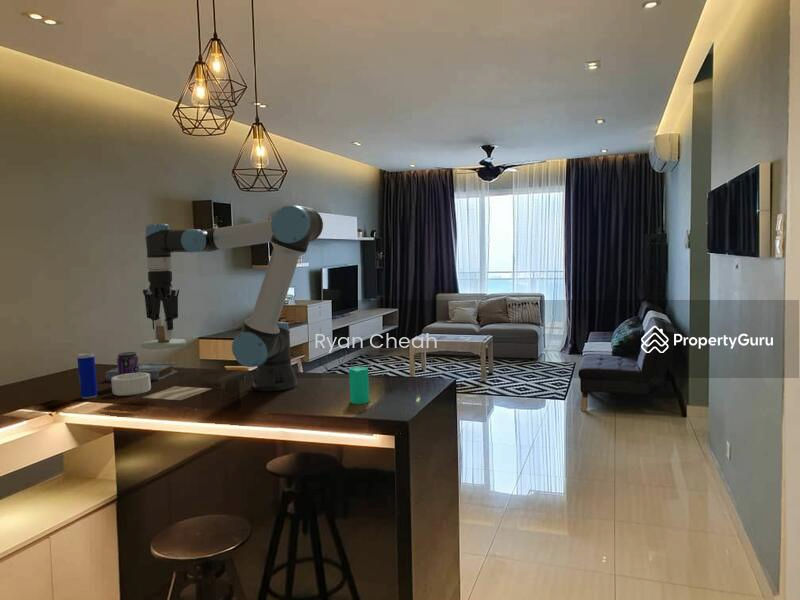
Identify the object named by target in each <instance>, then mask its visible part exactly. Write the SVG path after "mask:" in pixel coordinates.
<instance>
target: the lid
mask: <svg viewBox="0 0 800 600" xmlns="http://www.w3.org/2000/svg"><path fill="white" fill-rule="evenodd" d="M157 331H158V340H155V339H151V340H147V341H143V342H141V344H140V345H141V346H140V347H141V349H147V350H161V349H163V350H164V349H173V348H174V349H175V348H178V347H183V346H186V344H187V342H186V341H187V340H186V339H182V338H172V339H171V340H165V333H164V324H163V325H162V324H161V325H160V326H157Z"/></svg>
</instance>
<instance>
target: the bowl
mask: <svg viewBox="0 0 800 600" xmlns="http://www.w3.org/2000/svg"><path fill="white" fill-rule="evenodd" d="M110 382H111V392H112V395H115V396H133V395H139V394H143V393H146V392H149V391H151V388H152V384H151V383H152V382H151V380H150V374H149V373H141V372H140V373H128V374H122V375H118V376H114V377H112V378H111V381H110Z"/></svg>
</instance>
